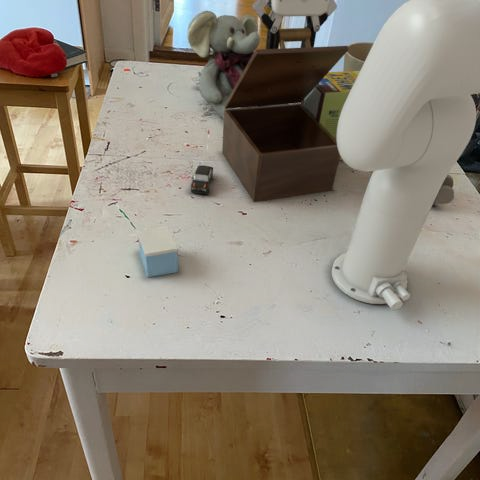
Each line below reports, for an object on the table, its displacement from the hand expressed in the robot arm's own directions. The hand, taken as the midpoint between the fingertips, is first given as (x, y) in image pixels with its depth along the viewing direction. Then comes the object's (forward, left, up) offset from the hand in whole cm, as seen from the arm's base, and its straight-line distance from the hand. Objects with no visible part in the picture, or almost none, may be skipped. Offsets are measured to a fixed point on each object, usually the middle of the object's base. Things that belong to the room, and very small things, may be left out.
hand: (289, 54), depth 86 cm
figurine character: (-17, -24, -23) cm, 37 cm away
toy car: (-1, +16, -23) cm, 28 cm away
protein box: (+5, -17, -23) cm, 29 cm away
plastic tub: (-24, +31, -23) cm, 45 cm away
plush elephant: (+33, -2, -23) cm, 40 cm away
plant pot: (+18, -32, -23) cm, 43 cm away
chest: (-1, 0, -23) cm, 23 cm away
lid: (+1, 0, -5) cm, 6 cm away
